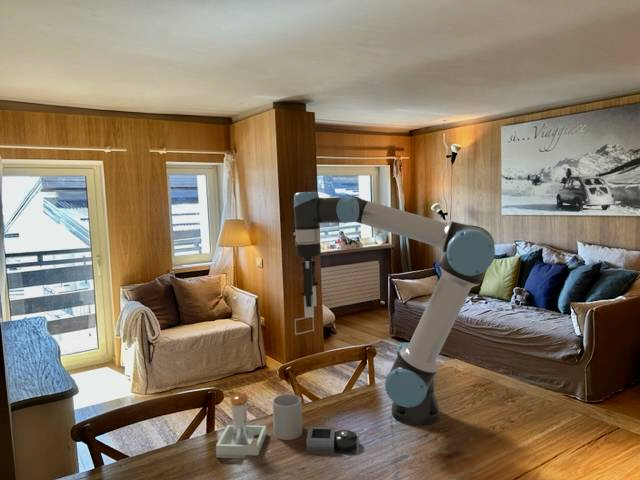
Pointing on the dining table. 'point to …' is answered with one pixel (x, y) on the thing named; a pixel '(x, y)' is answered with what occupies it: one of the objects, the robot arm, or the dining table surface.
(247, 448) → the tray
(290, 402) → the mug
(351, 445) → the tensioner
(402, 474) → the dining table surface
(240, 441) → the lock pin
